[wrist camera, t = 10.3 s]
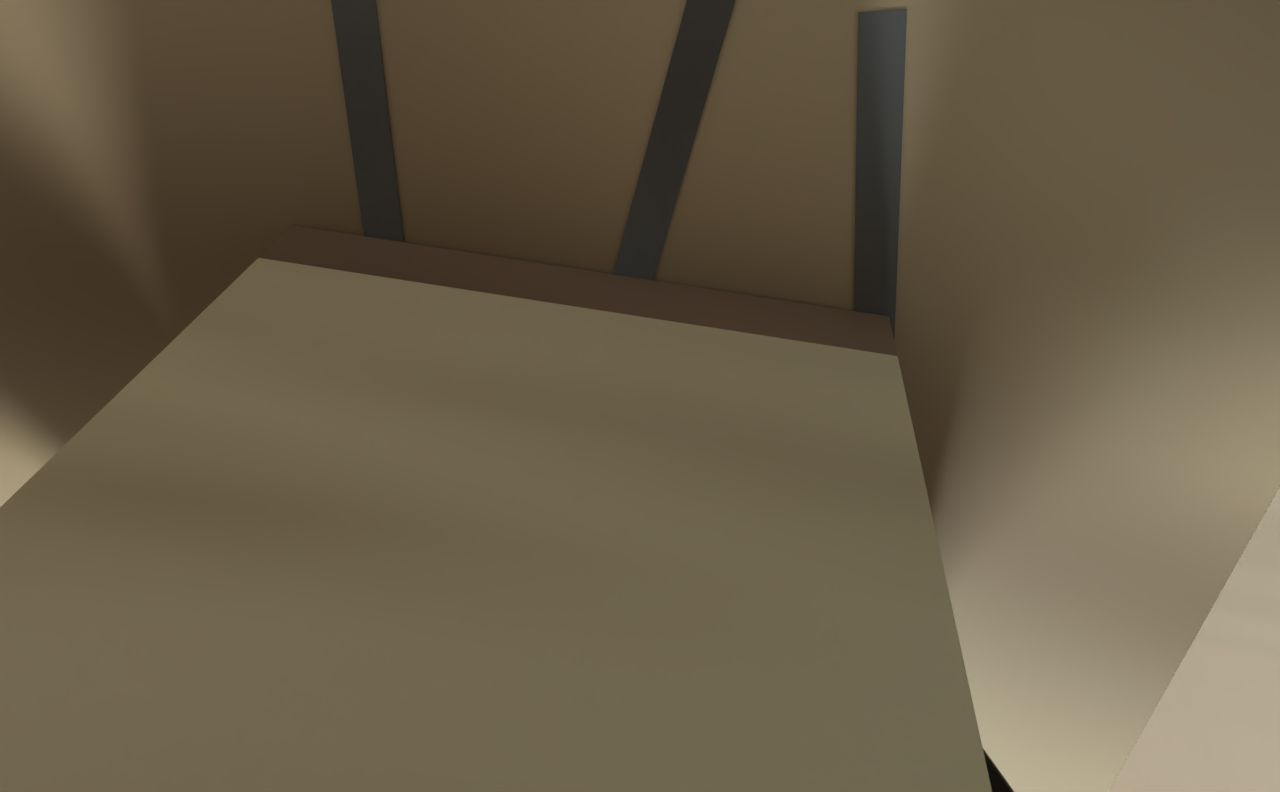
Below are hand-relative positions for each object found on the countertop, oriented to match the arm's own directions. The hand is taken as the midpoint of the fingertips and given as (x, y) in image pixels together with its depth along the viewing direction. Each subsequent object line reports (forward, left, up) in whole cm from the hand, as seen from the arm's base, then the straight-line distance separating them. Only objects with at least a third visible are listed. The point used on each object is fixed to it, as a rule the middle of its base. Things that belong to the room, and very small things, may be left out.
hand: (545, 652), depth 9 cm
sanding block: (0, 0, 0) cm, 0 cm away
